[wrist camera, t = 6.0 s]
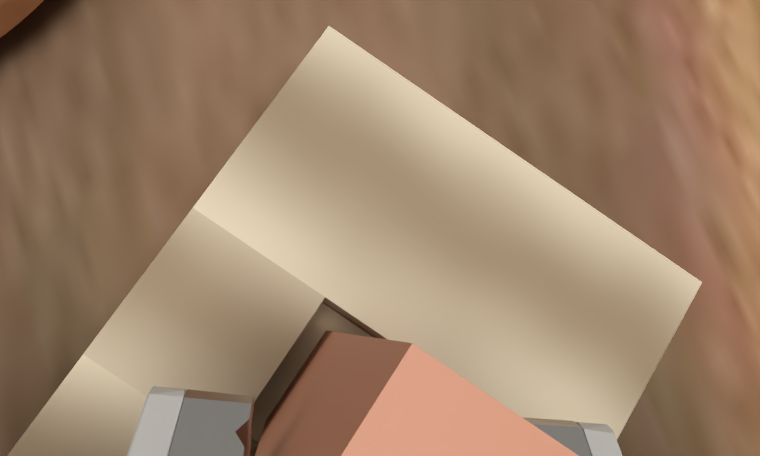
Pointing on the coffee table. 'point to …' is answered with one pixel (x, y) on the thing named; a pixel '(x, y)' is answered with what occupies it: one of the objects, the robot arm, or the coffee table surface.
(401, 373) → the wooden block
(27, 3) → the saucer
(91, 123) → the coffee table surface
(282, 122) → the cream block with hole
